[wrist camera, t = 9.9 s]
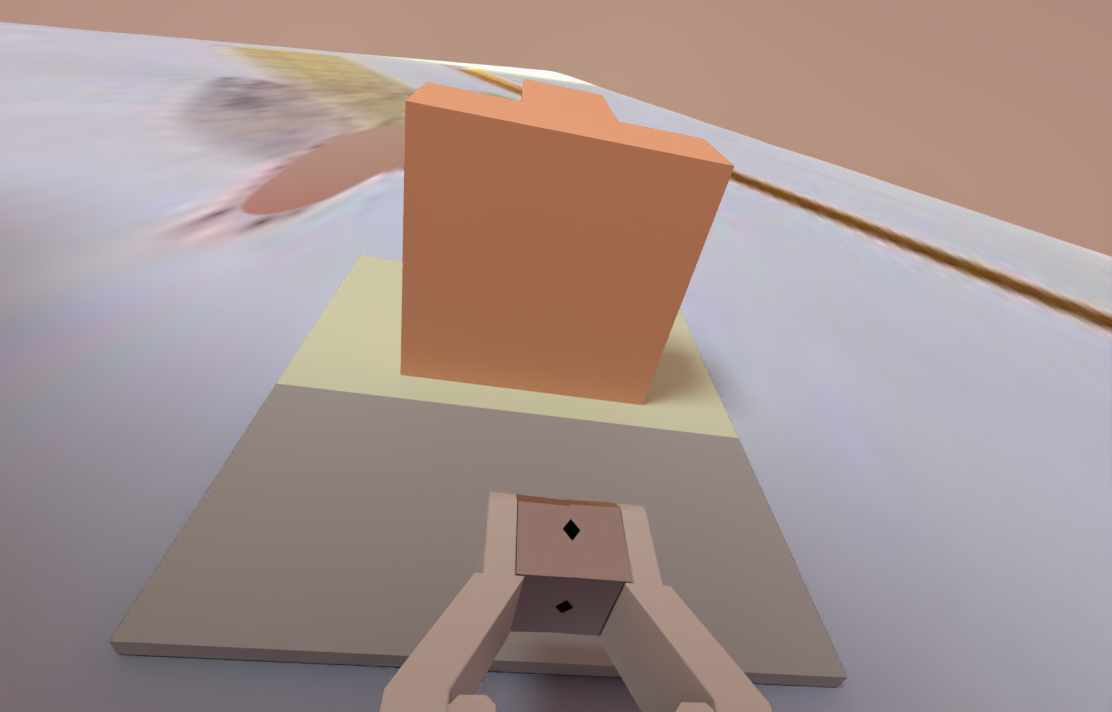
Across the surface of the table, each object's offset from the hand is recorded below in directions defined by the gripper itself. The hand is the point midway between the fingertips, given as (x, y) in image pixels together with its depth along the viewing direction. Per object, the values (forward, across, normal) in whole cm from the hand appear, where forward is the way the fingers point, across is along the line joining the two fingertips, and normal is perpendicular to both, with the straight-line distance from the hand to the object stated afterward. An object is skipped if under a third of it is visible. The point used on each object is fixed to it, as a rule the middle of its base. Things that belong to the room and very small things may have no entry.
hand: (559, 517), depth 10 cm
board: (+10, 0, +6) cm, 11 cm away
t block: (+14, 0, +5) cm, 15 cm away
